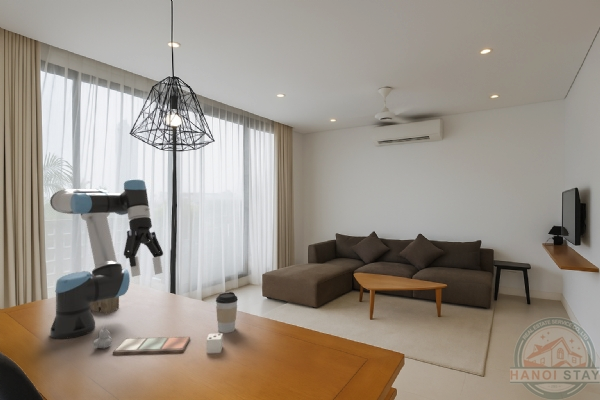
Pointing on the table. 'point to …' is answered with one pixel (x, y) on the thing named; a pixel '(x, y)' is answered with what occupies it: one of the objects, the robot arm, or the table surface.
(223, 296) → the coffee cup
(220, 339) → the die
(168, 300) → the table surface
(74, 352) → the table surface
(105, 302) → the block tower
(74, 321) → the robot arm
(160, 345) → the game board
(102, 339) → the white lumpy piece
